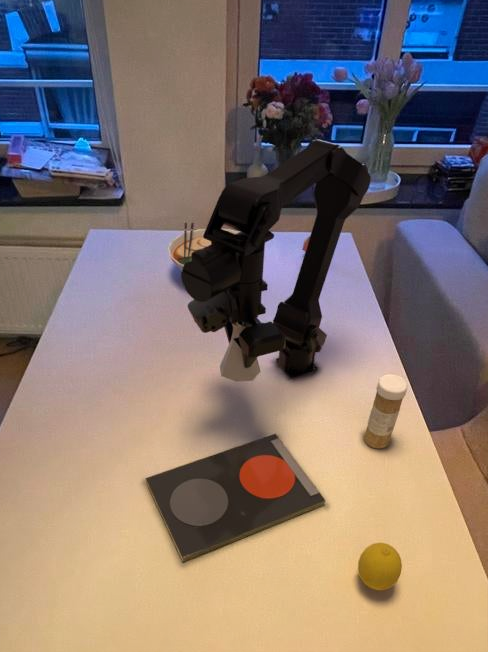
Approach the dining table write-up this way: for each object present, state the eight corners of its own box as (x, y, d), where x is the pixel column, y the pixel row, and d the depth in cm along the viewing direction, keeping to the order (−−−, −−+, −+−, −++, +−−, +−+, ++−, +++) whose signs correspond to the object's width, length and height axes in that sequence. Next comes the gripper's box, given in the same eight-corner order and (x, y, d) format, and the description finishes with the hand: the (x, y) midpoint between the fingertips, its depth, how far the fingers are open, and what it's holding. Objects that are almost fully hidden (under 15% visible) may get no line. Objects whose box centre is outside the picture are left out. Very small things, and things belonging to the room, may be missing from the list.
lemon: (349, 565, 75) (359, 533, 69) (386, 562, 75) (400, 530, 70) (359, 601, 71) (371, 571, 65) (399, 598, 71) (414, 568, 66)
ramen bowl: (260, 301, 125) (262, 270, 120) (164, 300, 125) (162, 269, 120) (257, 252, 143) (258, 223, 138) (173, 251, 143) (171, 222, 138)
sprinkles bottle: (378, 428, 95) (395, 370, 86) (394, 444, 92) (414, 386, 83) (357, 435, 94) (373, 377, 84) (373, 453, 91) (391, 394, 81)
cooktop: (274, 438, 93) (275, 432, 92) (324, 504, 83) (325, 499, 82) (146, 482, 86) (145, 476, 85) (182, 562, 75) (182, 556, 74)
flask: (256, 386, 88) (259, 336, 81) (214, 380, 89) (213, 330, 82) (264, 360, 93) (267, 311, 86) (224, 355, 94) (224, 306, 87)
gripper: (171, 256, 82) (176, 339, 93) (218, 318, 70) (218, 404, 81) (236, 244, 85) (234, 325, 96) (292, 300, 73) (282, 386, 84)
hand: (240, 357), depth 89 cm, fingers closed on flask, 5 cm apart
